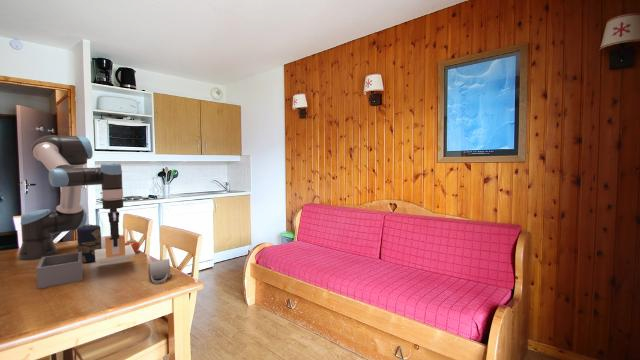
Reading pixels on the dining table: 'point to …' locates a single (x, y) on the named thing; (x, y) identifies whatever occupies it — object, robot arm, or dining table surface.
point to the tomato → (133, 244)
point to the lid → (107, 256)
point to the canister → (89, 241)
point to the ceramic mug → (159, 271)
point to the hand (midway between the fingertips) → (115, 252)
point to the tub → (59, 269)
